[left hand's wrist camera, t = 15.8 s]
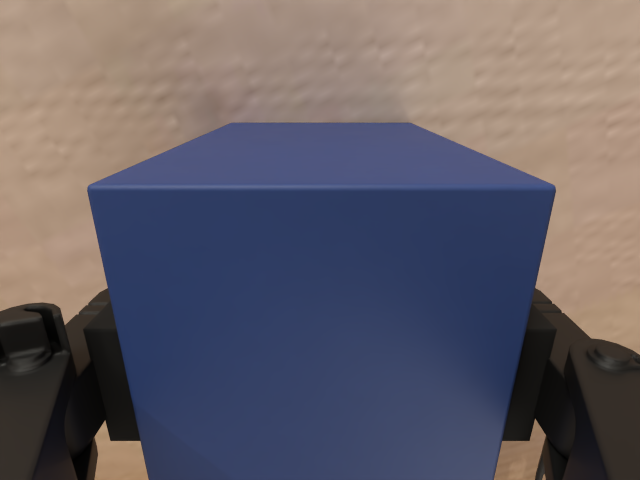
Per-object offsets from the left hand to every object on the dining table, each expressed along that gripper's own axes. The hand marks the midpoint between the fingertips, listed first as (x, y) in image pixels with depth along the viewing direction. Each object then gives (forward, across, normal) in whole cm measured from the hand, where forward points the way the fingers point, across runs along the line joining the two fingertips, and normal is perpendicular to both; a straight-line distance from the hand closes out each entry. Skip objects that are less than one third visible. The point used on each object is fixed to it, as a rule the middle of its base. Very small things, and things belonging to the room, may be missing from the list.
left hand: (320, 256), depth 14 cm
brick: (+3, 0, 0) cm, 3 cm away
